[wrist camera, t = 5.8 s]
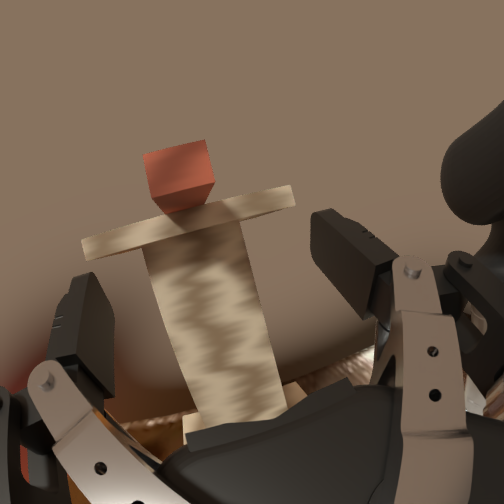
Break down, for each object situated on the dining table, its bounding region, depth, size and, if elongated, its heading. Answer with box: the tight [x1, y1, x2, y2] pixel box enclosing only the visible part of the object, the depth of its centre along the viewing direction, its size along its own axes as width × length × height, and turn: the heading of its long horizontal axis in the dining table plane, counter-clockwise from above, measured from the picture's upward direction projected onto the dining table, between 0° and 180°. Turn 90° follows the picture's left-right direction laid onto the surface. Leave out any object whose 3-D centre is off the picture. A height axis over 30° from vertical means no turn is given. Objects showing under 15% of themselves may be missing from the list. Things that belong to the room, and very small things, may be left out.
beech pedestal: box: [81, 185, 307, 445], centre depth 34 cm, size 20×16×32 cm
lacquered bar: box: [143, 140, 215, 215], centre depth 27 cm, size 4×26×2 cm, turn 13°
